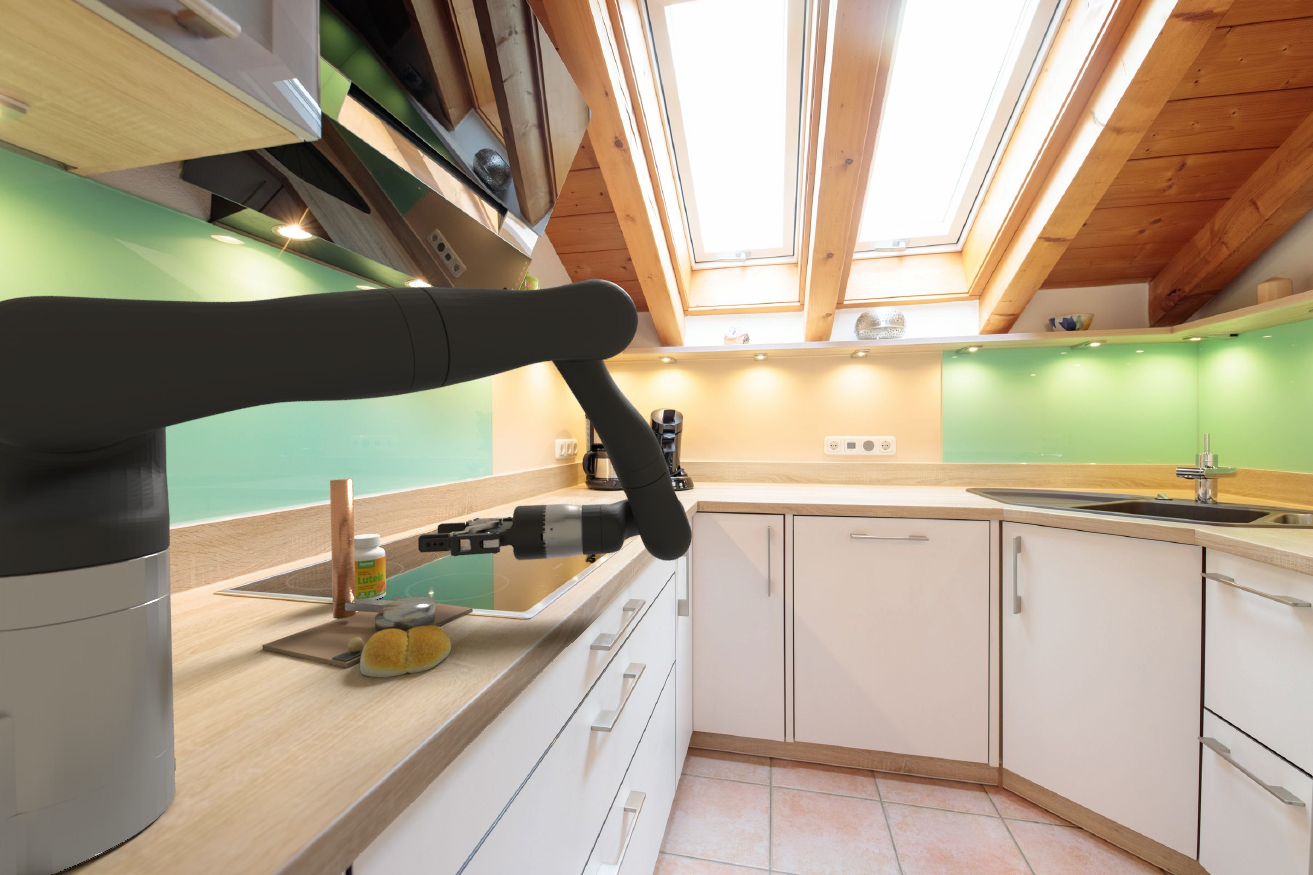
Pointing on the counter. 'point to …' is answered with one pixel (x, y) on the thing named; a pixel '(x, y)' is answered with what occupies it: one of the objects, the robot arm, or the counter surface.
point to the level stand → (346, 637)
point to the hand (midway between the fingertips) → (429, 537)
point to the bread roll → (404, 651)
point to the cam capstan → (343, 573)
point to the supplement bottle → (369, 567)
